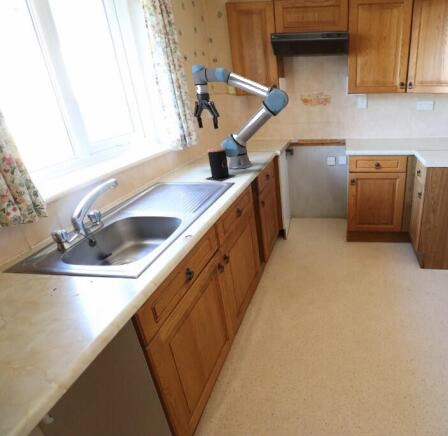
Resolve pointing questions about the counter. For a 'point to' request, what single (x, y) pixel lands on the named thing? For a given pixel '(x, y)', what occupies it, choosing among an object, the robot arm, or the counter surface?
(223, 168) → the coffee jar
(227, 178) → the mat
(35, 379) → the counter surface
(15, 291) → the counter surface
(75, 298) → the counter surface
